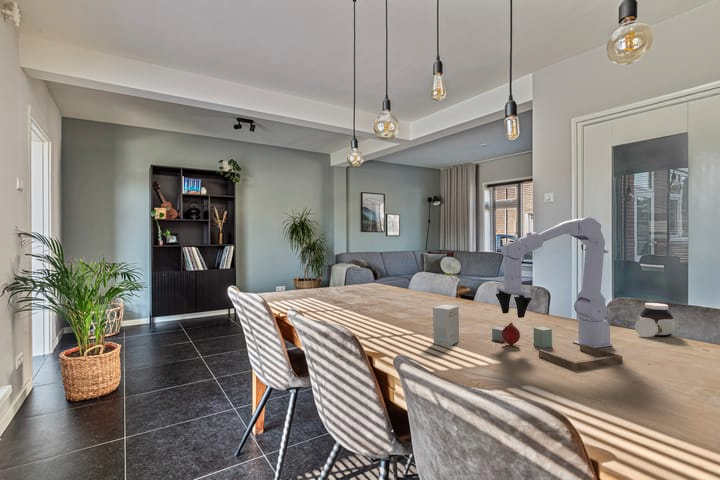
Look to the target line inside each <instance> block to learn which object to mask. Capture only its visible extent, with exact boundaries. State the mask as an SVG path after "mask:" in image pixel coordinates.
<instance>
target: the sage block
mask: <svg viewBox="0 0 720 480" xmlns="http://www.w3.org/2000/svg"><path fill="white" fill-rule="evenodd" d="M533 345H534V346H536V347H539V348H542V349H545V348H551V347H553V329H552V328H549V327H545V326H535V327H533Z"/></svg>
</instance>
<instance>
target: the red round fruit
mask: <svg viewBox="0 0 720 480" xmlns="http://www.w3.org/2000/svg"><path fill="white" fill-rule="evenodd" d="M503 328H504V329H503V331H502V337H503V339H504V342H505V343H506V344H508V345H509V346H514V344H515V345H516V343H518V342H519V340H520V338H521V333H520V331H519V328H517V327H516V326H515V325H514V324H513V322H511V321H510V322H509V323H508V325H505V327H503Z"/></svg>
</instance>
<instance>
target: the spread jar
mask: <svg viewBox="0 0 720 480" xmlns="http://www.w3.org/2000/svg"><path fill="white" fill-rule="evenodd" d="M634 330H635V332H636V333H637V334H638V335H639V336H641V337H643V338H652V337H653V338H669V337H671V336H672V335H673V334H674V332H675V319H674V315H673V313H672V312H671V311H670V310H669V305H668V304H666V303H661V302H660V303H659V302H645V304H644V309H642V310H641V312H640V313H639V319H638V320H636V322H635V323H634Z"/></svg>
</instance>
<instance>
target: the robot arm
mask: <svg viewBox="0 0 720 480" xmlns="http://www.w3.org/2000/svg"><path fill="white" fill-rule="evenodd" d="M562 235H570V236H571V237H572V238H576V239H577V240H579V241H580V242H581V243H582V244H584V246H585V255H584V262H583V263H584V264H583V265H584V267H583V276H582V287H581V290H580V292H578V293H577V296H576V297H577V298H576V299H575V301H574V304H573V309H574V311H575V312H576V314H577V317H578V318H577V320H578V321H577V322H578V323H577V324H578V327H577V328H578V329H577V331H578V339H577V340H572V343H574V344H577V345H580V344H585V345H588V346H591V347H594V348H598V349H600V348H606V347H612V346H613V344H612V343H611V327H610V324H609V322H608V320H606V319H605V318H606V317H607V315H608V307H607V305H606V297H604V295H603V294H602V292H601V291H602V281H603V269H604V268H603V267H604V256H605V245H606V241H605V240H606V239H605V238H604V235H603V232H602V224H601V223H600V222H599V221H598V220H597V219H596V218H594V217H590V216H589V217H584V218H572V219H569V220H565V221H562V222H560V223H558V224H556V225H553V226H552V227H550V228H547V229H546V230H544V231H542V232H540V233H538V232H535V231H534V232H531V231H528V232H526V234H525V235H524V236H521V237H519V238H517V237H516V238H514V239H513V241H509V242H508V241H507V242H505V243H504V244H503V246H502V247H501V249H500V253H501V255H502V256H503V286H501V285H499V286H496V293H495V297H496V298H497V300H498V303H499V305H500V308H501V312H502V314H509V311H510V301H511V298H512V295H513V299H514V301H515V304H516V314H517V317H518V319H522V318H525V316H526V311H527V308H528V307H529V305H530V303H531V302H532V291H530V290H525V289H523V286H522V285H523V282H522V280H523V278H522V277H523V276H522V266H523V265H522V257H524V255H526V254H528V253H531V252H532V251H535V250H537V249H539V248H541V247H543V244H544V242H547V241H550V240H552V239H555V238H557V237H560V236H562Z"/></svg>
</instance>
